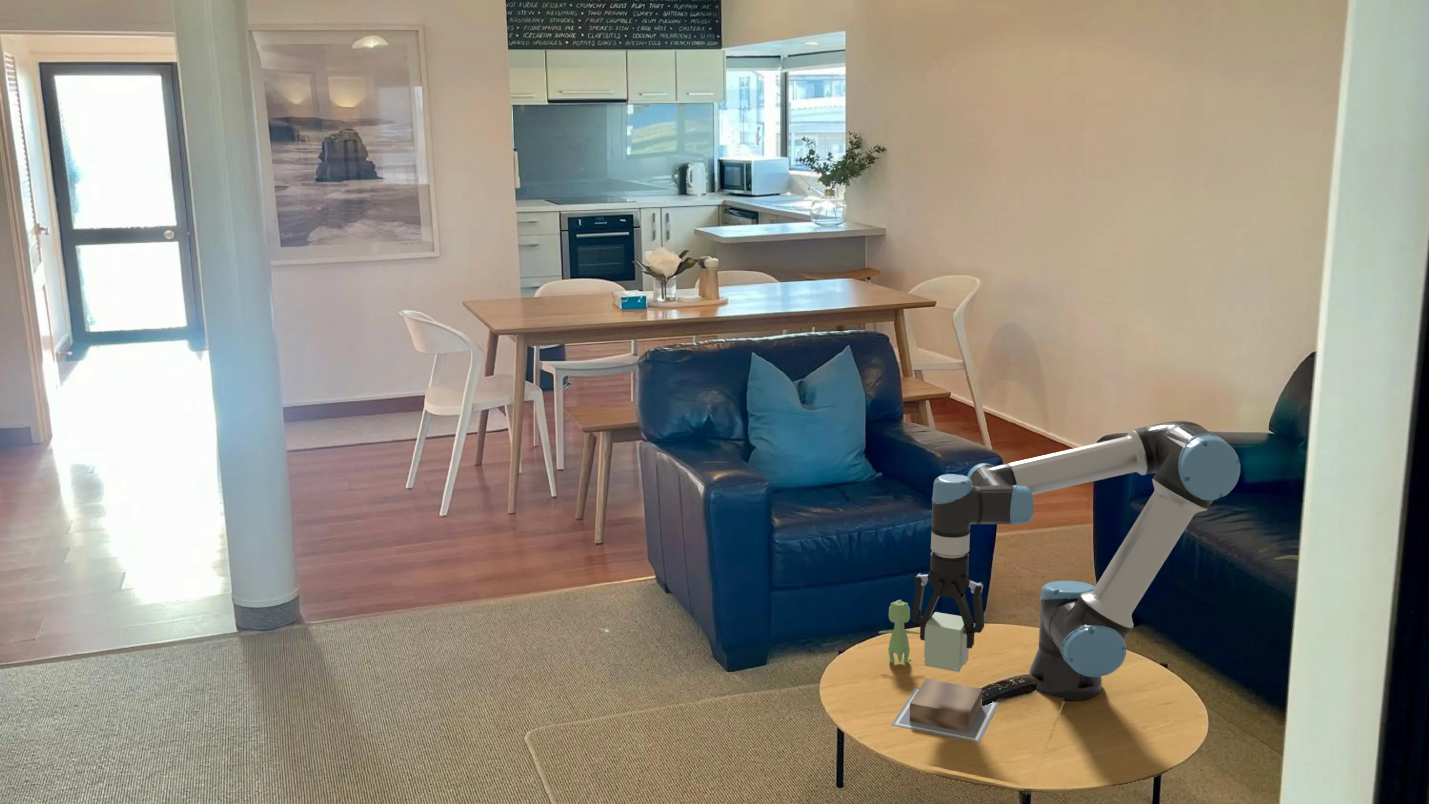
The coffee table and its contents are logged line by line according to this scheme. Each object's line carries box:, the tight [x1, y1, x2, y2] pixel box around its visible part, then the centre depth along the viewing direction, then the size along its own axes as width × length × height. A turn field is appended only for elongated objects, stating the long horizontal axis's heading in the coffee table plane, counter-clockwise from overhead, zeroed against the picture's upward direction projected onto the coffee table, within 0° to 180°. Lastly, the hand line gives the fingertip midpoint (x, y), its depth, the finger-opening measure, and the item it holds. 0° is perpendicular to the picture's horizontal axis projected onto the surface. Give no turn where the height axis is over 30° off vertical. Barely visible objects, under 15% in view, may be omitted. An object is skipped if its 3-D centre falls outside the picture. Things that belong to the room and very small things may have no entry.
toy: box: [878, 599, 920, 664], centre depth 266 cm, size 7×8×15 cm
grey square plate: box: [890, 687, 1000, 743], centre depth 243 cm, size 18×18×1 cm
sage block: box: [924, 611, 966, 673], centre depth 239 cm, size 7×7×9 cm
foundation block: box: [910, 678, 983, 733], centre depth 242 cm, size 12×12×4 cm
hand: (946, 658), depth 240 cm, fingers closed on sage block, 7 cm apart
